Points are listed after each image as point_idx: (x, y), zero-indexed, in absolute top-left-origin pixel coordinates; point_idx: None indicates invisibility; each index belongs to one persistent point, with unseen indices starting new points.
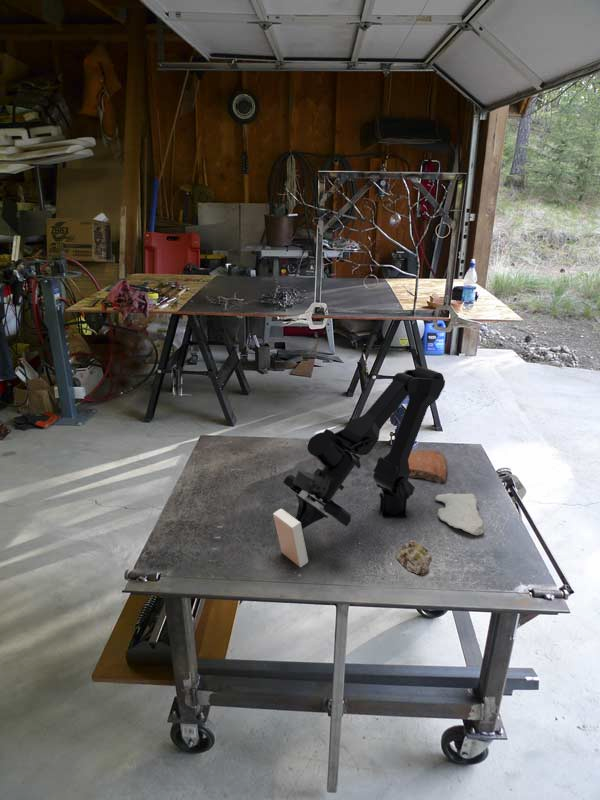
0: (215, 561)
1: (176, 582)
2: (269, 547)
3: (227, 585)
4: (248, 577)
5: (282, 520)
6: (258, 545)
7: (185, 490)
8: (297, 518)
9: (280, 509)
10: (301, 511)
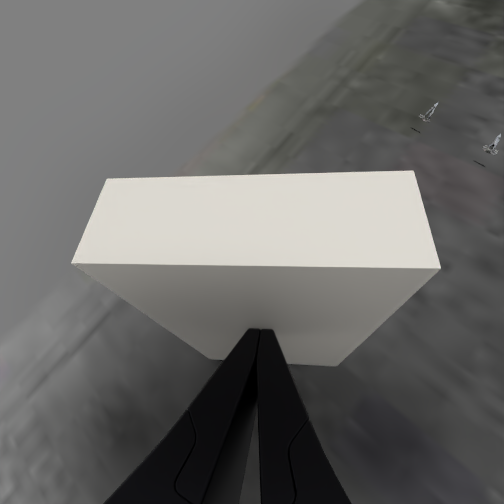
0: (421, 115)
1: (390, 8)
2: None
3: (295, 97)
4: (287, 156)
5: (250, 175)
6: None
7: None
8: (274, 391)
9: (422, 251)
10: (264, 473)
